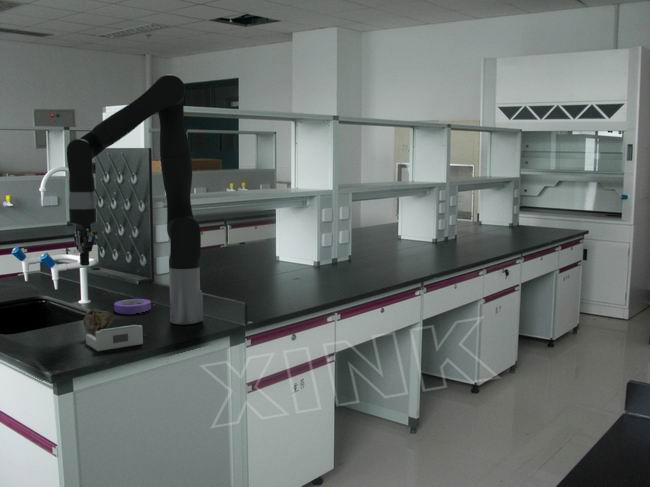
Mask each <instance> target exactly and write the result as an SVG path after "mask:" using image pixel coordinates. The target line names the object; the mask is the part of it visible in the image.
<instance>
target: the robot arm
mask: <svg viewBox="0 0 650 487" xmlns="http://www.w3.org/2000/svg"><path fill="white" fill-rule="evenodd" d="M185 96H186V86H185V83H184V81H183V80H182V79H181V78H180V77H178V76H177V75H174V74H164V75H161V76H160V77H158V78H157V79H156V81H155V82H154V83H153V84H152V85H151V86H150V87H149V88H148V89H147V90H145V92H144V93H143V94H141V95H139V97H137V98H136V99H134V100H133V101H132V102H131V103H129V104H127V105H126V106H124V107H122V108H120V109H118V110H117V111H116V112H114V113H113V114H111V115H110V116H108V117H106V118H105V119H104V120H102V121H101V122H99V123H98V124H97V125H95V126H94V127H93V128H92V129H91V131H89V132H87V133H86V134H84V135H83V136H81V137H80V138H74V139H73V140H71V141H70V142H69V143H68V144H67V147H66V161H67V168H68V176H69V177H68V189H69V190H68V191H69V194H68V213H69V223H70V224H72V225H75V229H74V232H73V233H72V236H73V240H74V244H75V248H76V250H77V252H78V253H79V265H80V266H83V267H85V266H89V265H90V252H92V251H93V247H94V244H95V237H96V235H95V234H93V230H92V226H91V224H95V223H97V200H96V192H95V179H94V178H95V177H94V174H93V159H94V158H96V157H97V156H99V154H101V153H102V152H103V151H104V150H105V149H106V148H109V147H111V146H112V145H115V143H117V142H119V141H120V140H122V138H124V137H126V136H127V135H128V134H130V133H131V132H133V131H134V130H135V129H136V128H137V127H138V126H140V125H141V124H142V123H144V122H145V121H147V119H149V118H150V117H152V116H153V115H155V114H157V113H158V118H159V157H160V159H159V160H160V167H161V168H160V169H161V174H162V181H163V187H164V192H165V197H166V217H167V218H166V232H167V235H168V238H169V245H170V246H169V248H170V252H169V258H168V267H169V268H168V269H169V273H168V274H169V277H168V278H169V312H170V313H169V317H170V318H169V319H170V323H171V324H174V325H193V324H197V323H200V322H203V321H204V305H203V304H204V302H203V301H204V297H203V295H204V293H203V291H202V290H201V283H200V282H201V278H200V277H201V275H200V273H201V272H200V261H201V257H202V256H201V254H202V253H201V252H202V250H201V249H202V238H201V237H202V235H201V227H200V224H199V222H198V221H197V220H196V219H195V218H194V215H193V209H192V201H191V192H192V191H191V189H192V183H193V162H192V160H193V159H192V153H191V152H192V151H191V146H190V141H189V138H188V134H187V129H186V126H185V125H186V124H185V114H184V112H185V111H184V110H185V109H184V106H185V104H184V102H185V101H184V100H185Z"/></svg>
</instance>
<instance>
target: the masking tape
mask: <svg viewBox="0 0 650 487" xmlns="http://www.w3.org/2000/svg"><path fill="white" fill-rule="evenodd" d="M151 303H152V302H151V300H150V299H145V298H133V299H132V298H131V299H124V300H118V301H115V302H114V304H113V306H114V308H113V310H114V312H115V313H117V314H122V315H137V314H136V313H140V314H142V313H141V312H145V311H148V310H150V309H151V310H152V304H151ZM151 310H150V311H151ZM148 312H149V311H148ZM145 313H146V312H145Z"/></svg>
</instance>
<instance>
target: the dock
mask: <svg viewBox="0 0 650 487" xmlns="http://www.w3.org/2000/svg"><path fill="white" fill-rule="evenodd" d="M143 334H144V333H143V325H141V324H140V325H139V324H138V325H137V324H130V325H125V326H117V327H112V328H109V327H108V328H107V329H102V330H100V331H96V336H94V335H93V334H91V333H87V334H85V344H86V345H88V346H89V347H90V348H92V349H93V350H95V351H96V352H101V351H107V350H111V349H112V350H114V349H119V348H125V347H132V346H137V345H143V344H144V340H143V338H144V337H143V336H144V335H143Z"/></svg>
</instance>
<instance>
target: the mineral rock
mask: <svg viewBox="0 0 650 487" xmlns="http://www.w3.org/2000/svg"><path fill="white" fill-rule="evenodd" d="M114 317H115V315H114V314H113V313H112V312H110V311H106V310H104V311H103V310H99V309H97V308H95V307H93V308H91V309H88V310H87V311H86V312H85V316H84V317H83V327H85V331H86V333H88V334H91V335H93V336H94V337H96V331H100V330H102V329H109V327H110V326H111V324H112V322H113V321H114Z"/></svg>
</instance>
